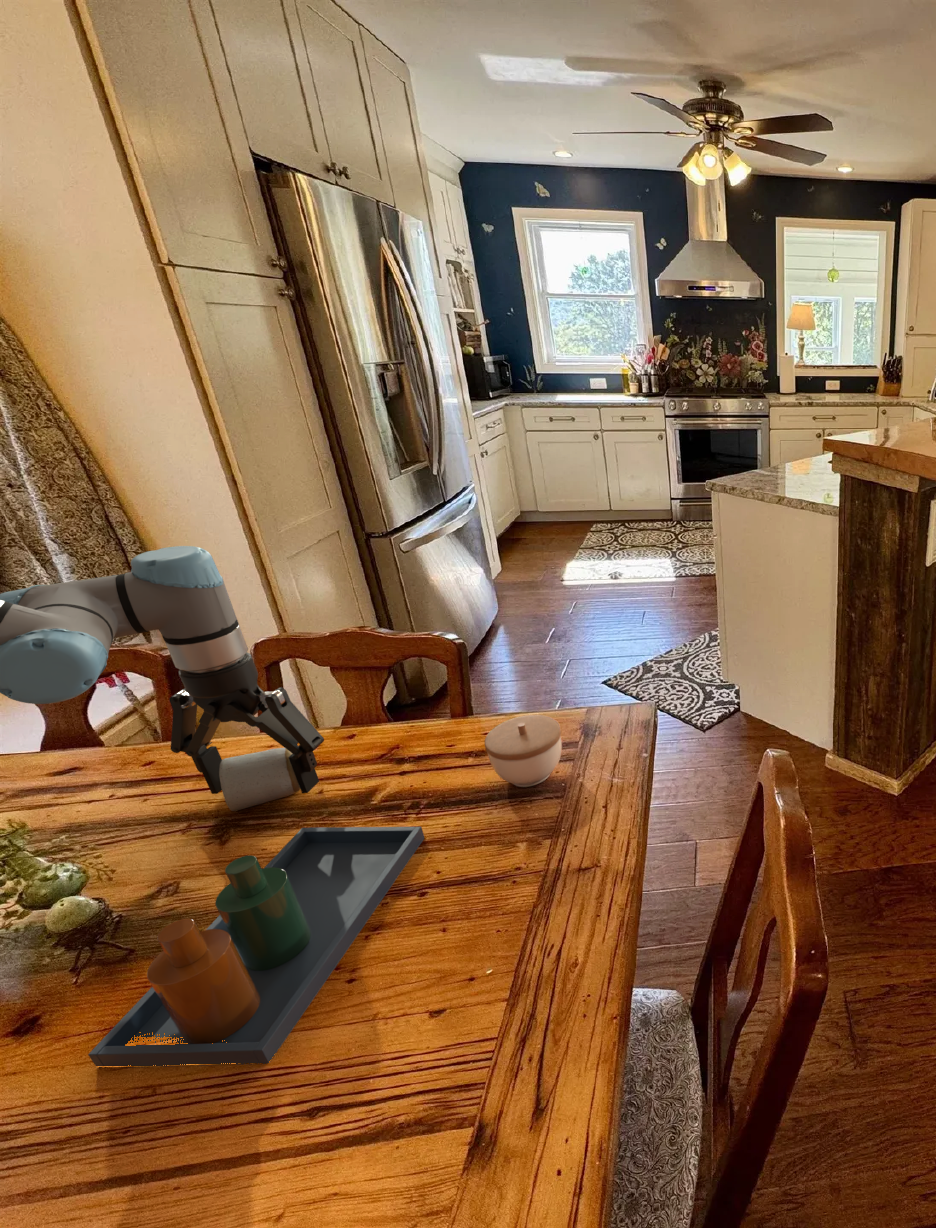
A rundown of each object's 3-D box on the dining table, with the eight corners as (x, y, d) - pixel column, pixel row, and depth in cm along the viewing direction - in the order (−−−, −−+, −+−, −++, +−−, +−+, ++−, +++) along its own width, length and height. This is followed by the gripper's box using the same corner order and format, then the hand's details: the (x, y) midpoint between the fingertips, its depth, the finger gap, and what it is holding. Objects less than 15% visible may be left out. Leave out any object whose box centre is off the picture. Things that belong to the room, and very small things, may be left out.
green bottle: (230, 971, 70) (186, 887, 65) (270, 924, 76) (233, 843, 71) (287, 970, 71) (249, 886, 66) (323, 923, 76) (290, 842, 71)
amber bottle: (166, 1047, 63) (112, 959, 58) (215, 989, 69) (169, 904, 63) (230, 1045, 64) (182, 957, 58) (274, 987, 69) (233, 903, 64)
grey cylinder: (305, 800, 96) (289, 757, 93) (232, 822, 91) (213, 778, 88) (304, 763, 103) (290, 723, 100) (238, 782, 99) (220, 740, 96)
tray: (99, 1072, 62) (87, 1055, 61) (307, 842, 88) (301, 827, 87) (270, 1067, 62) (261, 1050, 61) (425, 840, 89) (421, 826, 88)
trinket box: (579, 774, 103) (571, 724, 99) (511, 807, 96) (500, 755, 92) (547, 745, 110) (539, 697, 106) (482, 774, 102) (470, 724, 98)
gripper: (325, 647, 92) (365, 771, 101) (144, 646, 90) (201, 771, 99) (288, 674, 85) (335, 804, 94) (92, 674, 84) (158, 805, 93)
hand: (266, 787), depth 97 cm, fingers open, 12 cm apart
